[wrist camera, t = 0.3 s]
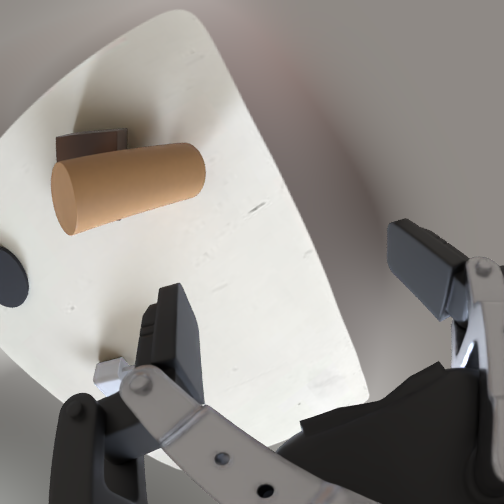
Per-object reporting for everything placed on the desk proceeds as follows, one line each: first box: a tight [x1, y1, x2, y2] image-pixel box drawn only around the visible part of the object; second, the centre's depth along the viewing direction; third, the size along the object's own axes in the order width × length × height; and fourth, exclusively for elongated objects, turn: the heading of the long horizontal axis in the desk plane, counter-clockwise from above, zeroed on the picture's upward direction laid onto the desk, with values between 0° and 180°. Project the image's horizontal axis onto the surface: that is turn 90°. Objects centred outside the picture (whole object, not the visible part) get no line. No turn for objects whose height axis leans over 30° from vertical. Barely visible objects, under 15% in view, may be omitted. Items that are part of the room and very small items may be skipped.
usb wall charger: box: [93, 357, 135, 397], centre depth 36 cm, size 4×7×4 cm, turn 106°
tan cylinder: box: [51, 143, 206, 236], centre depth 22 cm, size 12×5×12 cm, turn 85°
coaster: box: [0, 246, 29, 308], centre depth 28 cm, size 9×9×1 cm
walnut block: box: [56, 128, 127, 221], centre depth 24 cm, size 6×8×4 cm
